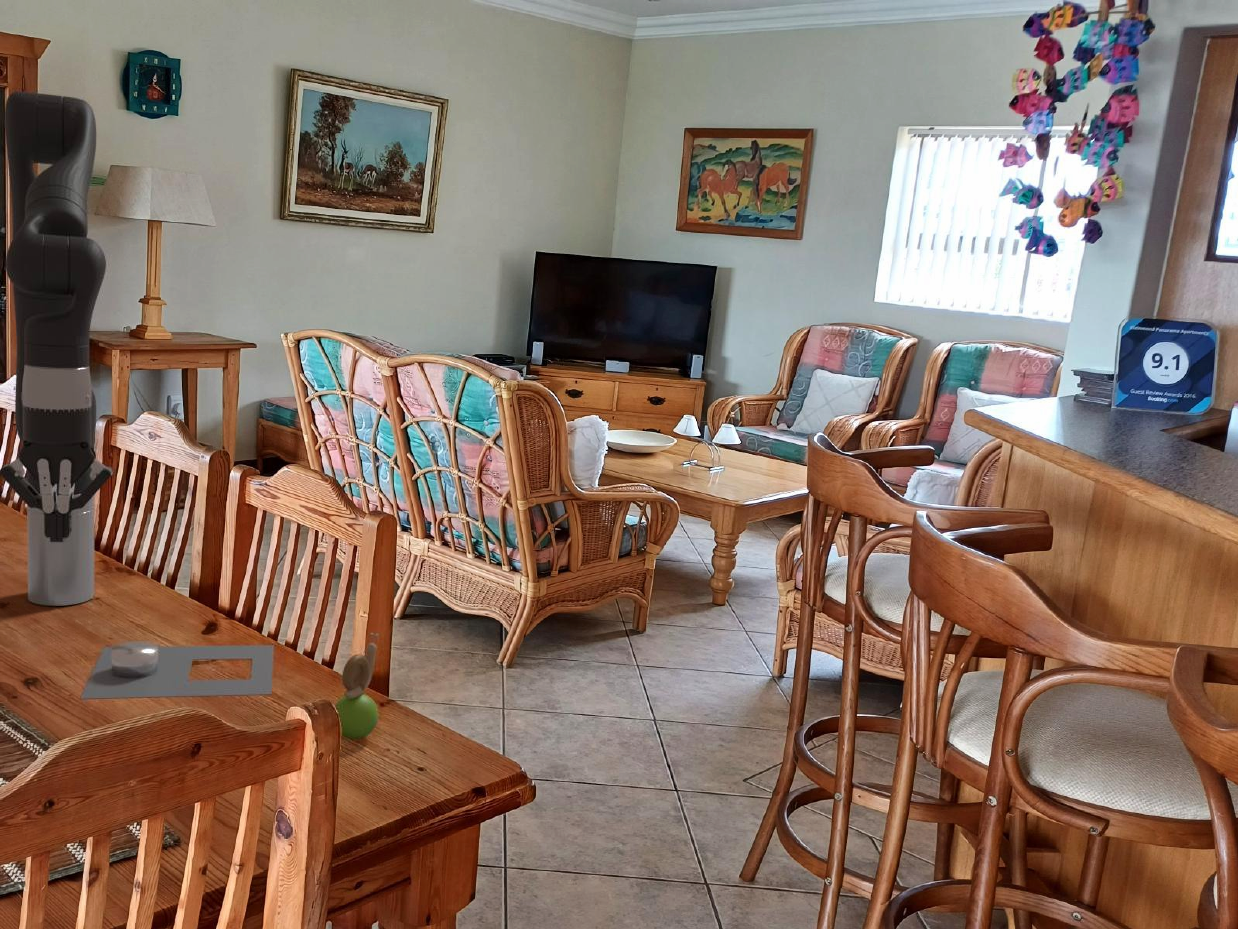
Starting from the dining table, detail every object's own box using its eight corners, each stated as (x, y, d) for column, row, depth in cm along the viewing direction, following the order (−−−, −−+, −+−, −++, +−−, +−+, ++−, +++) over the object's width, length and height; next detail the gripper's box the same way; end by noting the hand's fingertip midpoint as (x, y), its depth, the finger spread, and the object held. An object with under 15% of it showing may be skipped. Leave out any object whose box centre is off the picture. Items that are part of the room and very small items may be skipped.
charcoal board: (80, 710, 138) (80, 698, 138) (103, 657, 155) (103, 647, 155) (271, 705, 144) (271, 694, 144) (273, 655, 161) (274, 645, 161)
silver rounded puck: (114, 663, 149) (114, 641, 149) (160, 662, 151) (160, 640, 150) (108, 679, 144) (108, 656, 144) (155, 678, 146) (155, 655, 145)
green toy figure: (390, 731, 139) (395, 636, 137) (361, 750, 133) (366, 652, 131) (351, 722, 141) (355, 628, 139) (321, 741, 135) (325, 644, 133)
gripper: (120, 400, 144) (120, 534, 147) (4, 395, 141) (5, 532, 144) (111, 409, 137) (111, 549, 140) (-12, 404, 134) (-10, 548, 137)
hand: (57, 540), depth 142 cm, fingers closed
